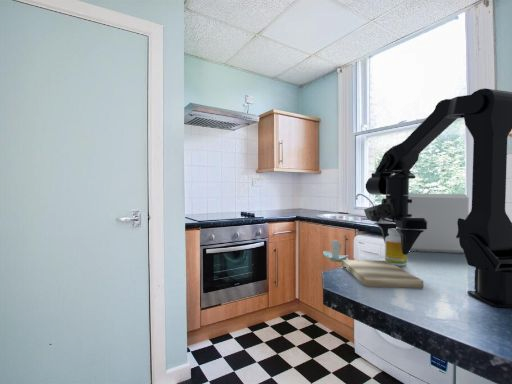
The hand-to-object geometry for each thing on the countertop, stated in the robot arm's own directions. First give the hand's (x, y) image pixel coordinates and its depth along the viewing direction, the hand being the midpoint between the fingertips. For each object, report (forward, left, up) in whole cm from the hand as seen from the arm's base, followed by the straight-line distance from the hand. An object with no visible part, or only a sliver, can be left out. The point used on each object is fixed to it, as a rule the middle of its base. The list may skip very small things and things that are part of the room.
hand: (395, 250), depth 74 cm
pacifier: (+2, +16, -4) cm, 16 cm away
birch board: (-11, +10, -4) cm, 15 cm away
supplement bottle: (0, 0, -4) cm, 4 cm away
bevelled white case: (+19, -22, -4) cm, 29 cm away
